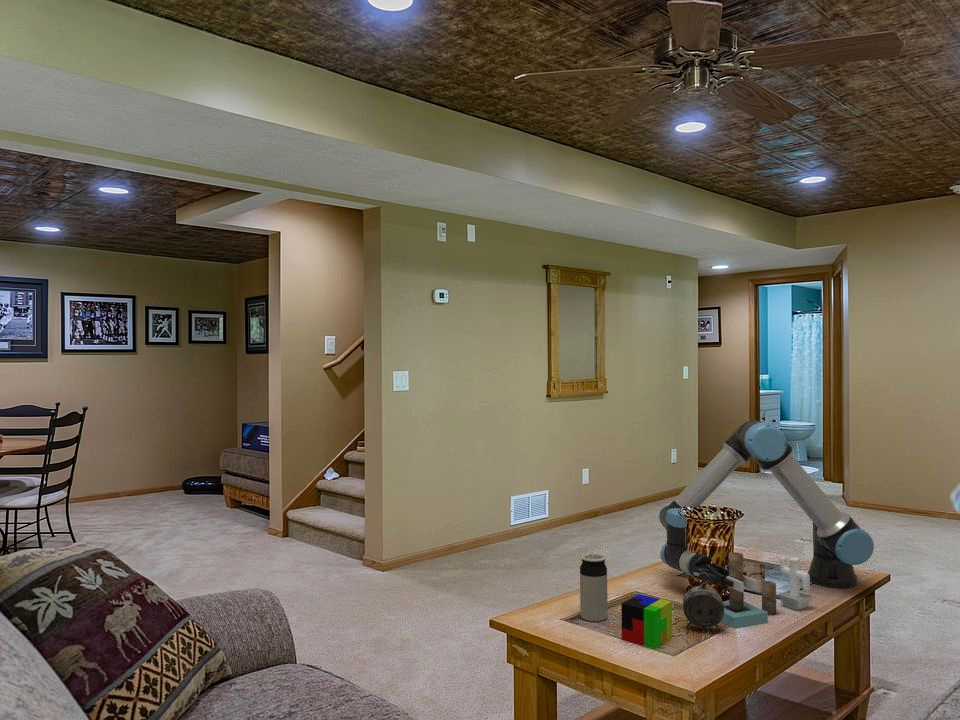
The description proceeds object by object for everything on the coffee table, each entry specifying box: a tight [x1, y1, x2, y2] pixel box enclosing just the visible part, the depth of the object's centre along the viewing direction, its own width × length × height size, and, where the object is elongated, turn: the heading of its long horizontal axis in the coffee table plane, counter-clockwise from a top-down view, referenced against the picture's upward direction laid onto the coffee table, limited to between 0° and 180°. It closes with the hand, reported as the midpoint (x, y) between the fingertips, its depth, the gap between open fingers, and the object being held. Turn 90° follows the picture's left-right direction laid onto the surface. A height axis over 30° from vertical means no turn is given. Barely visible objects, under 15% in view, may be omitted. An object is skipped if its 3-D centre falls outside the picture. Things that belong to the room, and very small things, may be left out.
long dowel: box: [728, 551, 745, 613], centre depth 214 cm, size 4×4×18 cm
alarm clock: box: [682, 573, 724, 634], centre depth 205 cm, size 11×5×16 cm, turn 74°
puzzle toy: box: [620, 593, 673, 650], centre depth 199 cm, size 10×10×10 cm
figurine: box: [776, 556, 814, 611], centre depth 223 cm, size 7×9×15 cm
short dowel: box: [761, 580, 777, 616], centre depth 218 cm, size 4×4×9 cm
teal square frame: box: [720, 600, 769, 629], centre depth 214 cm, size 12×12×3 cm
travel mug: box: [579, 553, 609, 623], centre depth 216 cm, size 8×8×18 cm
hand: (749, 586), depth 209 cm, fingers open, 4 cm apart
